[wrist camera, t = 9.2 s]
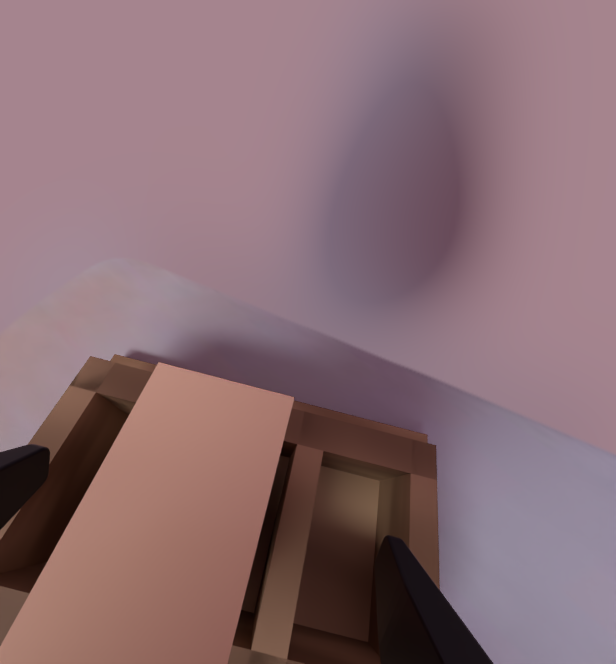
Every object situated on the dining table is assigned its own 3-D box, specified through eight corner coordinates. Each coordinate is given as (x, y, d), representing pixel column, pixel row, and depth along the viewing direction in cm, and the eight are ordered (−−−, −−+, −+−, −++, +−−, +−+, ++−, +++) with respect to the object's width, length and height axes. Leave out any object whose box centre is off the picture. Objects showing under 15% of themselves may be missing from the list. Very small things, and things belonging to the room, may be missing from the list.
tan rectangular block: (244, 578, 13) (183, 840, 3) (192, 564, 13) (-72, 775, 3) (272, 472, 16) (294, 397, 5) (227, 461, 16) (158, 361, 5)
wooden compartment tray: (420, 763, 12) (505, 898, 8) (-61, 641, 12) (-232, 711, 8) (421, 437, 19) (465, 417, 15) (120, 359, 19) (80, 318, 15)
